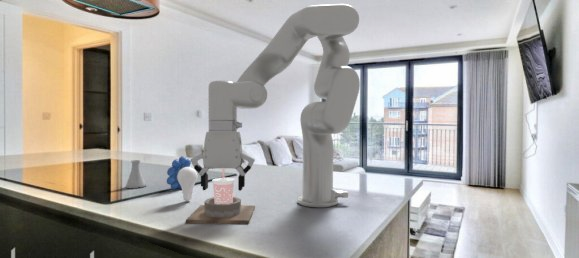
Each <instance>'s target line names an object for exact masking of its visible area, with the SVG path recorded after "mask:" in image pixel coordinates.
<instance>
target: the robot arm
mask: <svg viewBox="0 0 579 258" xmlns="http://www.w3.org/2000/svg"><path fill="white" fill-rule="evenodd" d="M359 24H360V16H359V12H358V11H357V9H356V8H355V7H354V6H352V5H349V4H346V3H339V4H338V3H336V4H314V5H308V6H305V7H303V8H302V9H299V10H298V11H296V12H294V13H293V14H291V15H290V16H289V17H288V18H287V19H286V21H284V23H283V24H282V25H281V27H280V28H279V30H278V31H277V32H276V34H275V35H274V37H273V38H272V39H271V40H270V42H269V43H268V44H267V45H266V46H265V47H264V49H263V50H262V51H261V52H260V53H259V55H258V56H257V57H256V58H255V59H254V60H253V62H251V63H250V64H249V66H247V68H246V69H245V70H244V71H243V72H242V74H241V75H240V77H238V79H237V80H236V81H231V80H213V81H210V83H209V84H208V131H206V132H205V137H204V143H203V145H204V146H203V152H202V153H200V154H198V155H196V156H194V157H192V158H190V161H191V165H192V166H193V169H195V170H196V172H197V174H199V176H200V187H202V191H206V190H207V189H208V188H209V174H208V171H209V170H213V169H214V170H223V169H224V170H235V171H236V172H238V174H239V175H238V177H237V178H238V181H237V182H238V184H237V185H238V186H237V189H238V191H239V192H241V191H242V190H243V188H244V187H245V184H246V182H245V181H246V179H245V178H246V176H245V175H246V174H247V173H248V172H249V171H250V170H251V169H252V167H253V165H254V163H255V162H256V159H255V158H254V157H252V156H250V155H248V154H247V153H244V152H243V143H242V136H241V133H240V131H237V130H238V129H240V128H243V122H239V121H238V114H237V113H238V109H242V110H243V109H248V110H249V109H250V110H251V109H253V110H254V109H257V108H260V107H262V106H263V105H264V104H265V103H266V101H267V99H268V90H267V89H266V86H265V85H267V83H268V82H269V81H271V80H272V79H273V78H275V77H276V76H277V75H280V74H281V73H282V72H284V71H285V70H286V69H287V68H288V67H289V66H290V65H291V64H292V62H293V61H294V60H295V58H296V57H297V56H298V54H299V52H301V50H302V49H303V47H304V46H305V44H306V43H307V42H308V41H309V40H310V39H313V38H315V37H317V38H318V41H320V44H321V46H322V57H321V61H320V65H319V66H318V71H317V74H316V77H315V81H314V85H313V91H314V94H315V95H316V96H317V97H318V98H320V99H322V100H325V101H314V102H310V103H308V104H307V105H305V106H304V107H303V109H302V110H301V114H300V117H299V119H300V127H301V128H300V129H301V134H302V194H301V196H298V197H297V204H299V205H302V206H304V207H309V208H310V207H311V208H329V207H334V206H336V205H338V201H339V200H338V199H339V198H342V199H343V198H344V199H347V198H348V197H349V192H348V191H343V190H336V189H335V188H334V141H333V137H332V135H336V134H340V133H342V132H343V133H344V131H345V130H346V129H347V128H348V126H349V124H350V122H351V119H352V116H353V113H354V110H355V106H356V104H357V101H358V100H357V99H358V96H359V93H360V87H361V86H360V85H361V82H360V78H359V75H358V72H357V71H356V70H355V69H354V68H352V67H351V66H349V62H350V50H349V46H348V43H346V39H344V36H347V35H351V34H353V32H355V31H356V29H357V28H358V27H359ZM201 159H202V164H203V167H202V166H201V165H200V164H199V161H200V160H201ZM243 160H245V161H246V162H247V165H246V166H245V167H243V166H242V165H243Z"/></svg>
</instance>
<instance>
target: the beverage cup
mask: <svg viewBox="0 0 579 258" xmlns="http://www.w3.org/2000/svg"><path fill="white" fill-rule="evenodd" d="M211 181H212V182H211V184H212V185H213V197H214V203H215V204H230V203H233V197H234V188H235V187H234V186H235V182H236V179H235V178H233V177H225V169H222V177H216V178H213V179H212V180H211Z"/></svg>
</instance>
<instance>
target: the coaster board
mask: <svg viewBox="0 0 579 258" xmlns="http://www.w3.org/2000/svg"><path fill="white" fill-rule="evenodd" d="M203 202H204V204H200V205H199V206H198V207H197V208H196V209H195V210H194V211H193V212H192V213H191V214H190V215H189V216H188V217H187V218H186V219H185V223H186V224H241V223H249V224H250V222H251V219H252V217H253V215H254V212H255V208H256V205H247V204H246V205H242V199H241V198H239V197H237V196H233V203H230V204H215V203H214V196H213V197H211V198H207V199H205V200H204V201H203ZM253 211H254V212H253Z"/></svg>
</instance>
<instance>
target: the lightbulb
mask: <svg viewBox="0 0 579 258" xmlns="http://www.w3.org/2000/svg"><path fill="white" fill-rule="evenodd" d="M191 167H192V166H190V167H184V168H182V169H181V170H180V171H179V172H178V175H177V179H178V182H179V183H180V185H181V187H182V189H181V191H182V194H183V196H182V198H183V201H185V202H190V201H191V200H192V199H193V192H194V186H195V184H196V183H197V180H198V172H197V171H196V170H195V169H194V167H192V168H191Z"/></svg>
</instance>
